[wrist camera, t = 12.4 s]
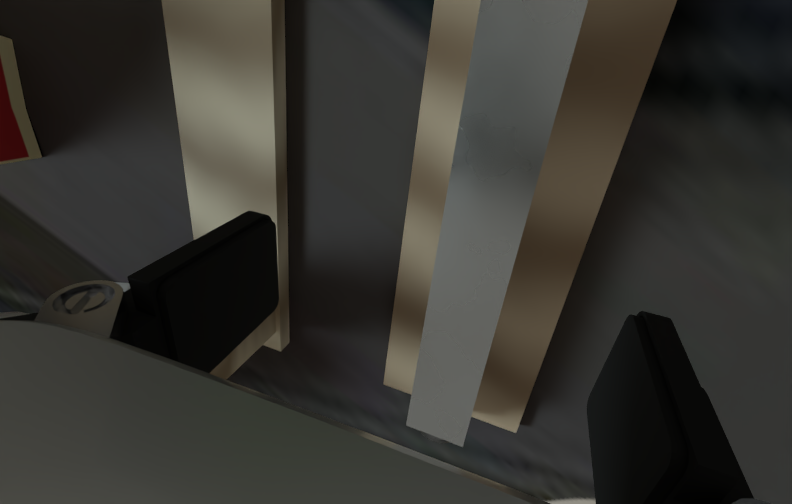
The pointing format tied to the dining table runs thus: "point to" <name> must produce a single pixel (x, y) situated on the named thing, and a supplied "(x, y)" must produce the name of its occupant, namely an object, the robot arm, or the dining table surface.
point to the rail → (489, 199)
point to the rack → (234, 129)
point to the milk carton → (13, 111)
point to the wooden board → (553, 197)
